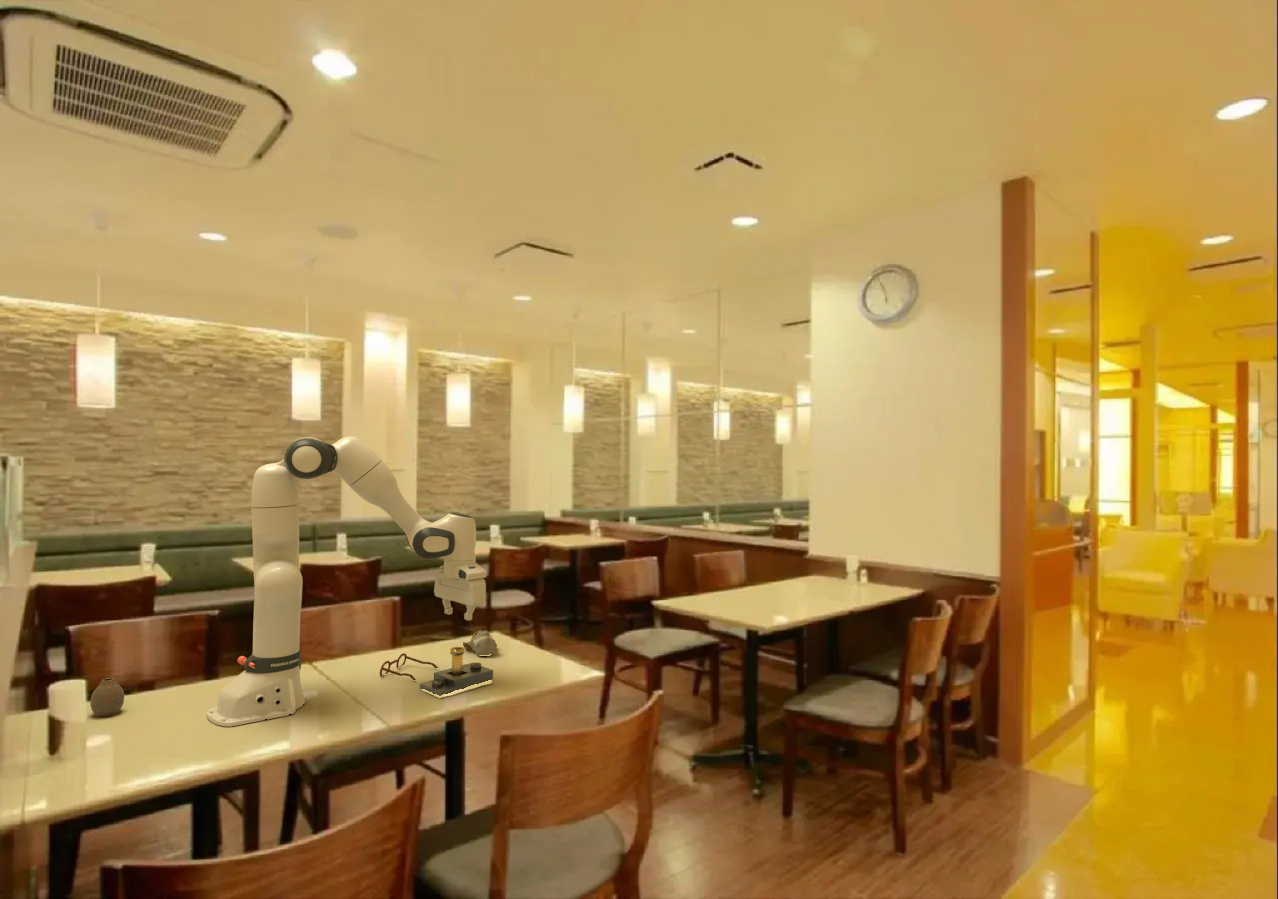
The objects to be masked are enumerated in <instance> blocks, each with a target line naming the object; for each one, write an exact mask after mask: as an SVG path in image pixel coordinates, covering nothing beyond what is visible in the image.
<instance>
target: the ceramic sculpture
mask: <svg viewBox="0 0 1278 899" xmlns="http://www.w3.org/2000/svg"><path fill="white" fill-rule="evenodd" d="M497 645H498V644H497V642H496V640H495V639H494V638H493V637H492V635H491V634H490V632H489V631H488V630H486V629H485V628H481V629H480V630H479V631H475V632H474V633H473V634H472V636H471V639H470V641H467V642H465V641H463V642H462V647H463V648H465V650H468V649H469V650H468V651H474V652H475V654H476V655H477V656H478V655H489V654H493V655H494V654H495V653H496V650H497Z"/></svg>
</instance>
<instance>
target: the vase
mask: <svg viewBox="0 0 1278 899" xmlns="http://www.w3.org/2000/svg"><path fill="white" fill-rule="evenodd" d="M121 686H122V685H121ZM121 686H120V684H119V683H117V682H116V680H115V678H114V677H107V678H103V679H102V680H101V681H100V683H99V684H98V686H97V687H96V688H95V689H94V691H93V692H92V694H91V698H90V701H89V703H90V708H91V711H92V714H94V715H95V716H97V717H100V718H101V717H102V718H104V717H105V718H106V717H109V716H110V717H111V716H114V715H116V714H117V713H119V711H120V710H121V709H122V707H123V706H124V702H125V692H124V689H123V688H122V687H121Z"/></svg>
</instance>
